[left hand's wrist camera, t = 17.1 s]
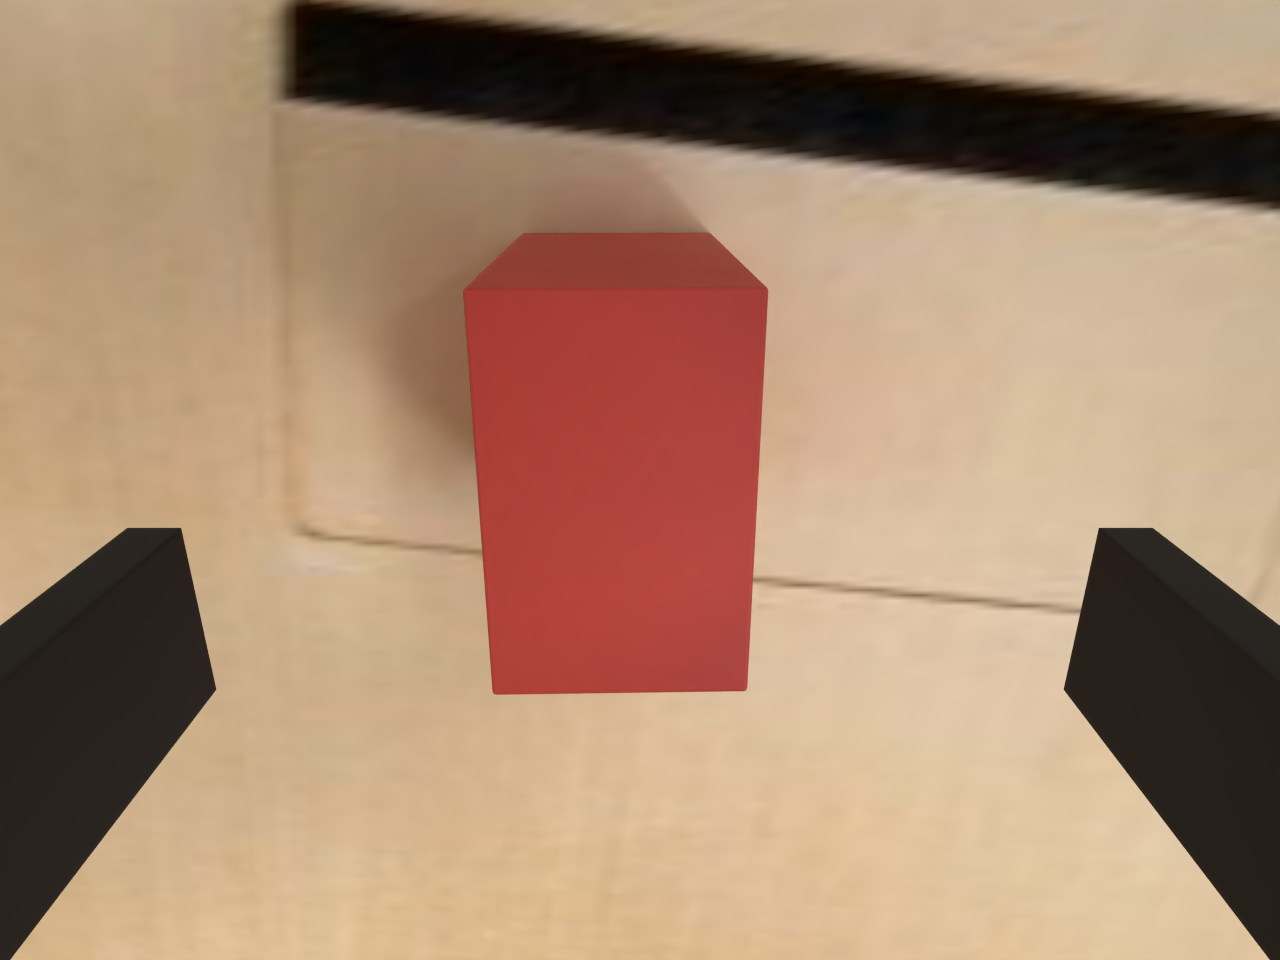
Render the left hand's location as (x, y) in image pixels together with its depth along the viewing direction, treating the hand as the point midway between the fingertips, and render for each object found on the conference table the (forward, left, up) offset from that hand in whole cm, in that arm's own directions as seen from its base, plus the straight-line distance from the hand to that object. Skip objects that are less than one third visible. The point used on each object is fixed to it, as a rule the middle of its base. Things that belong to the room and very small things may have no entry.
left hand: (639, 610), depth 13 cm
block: (0, 0, -14) cm, 14 cm away
